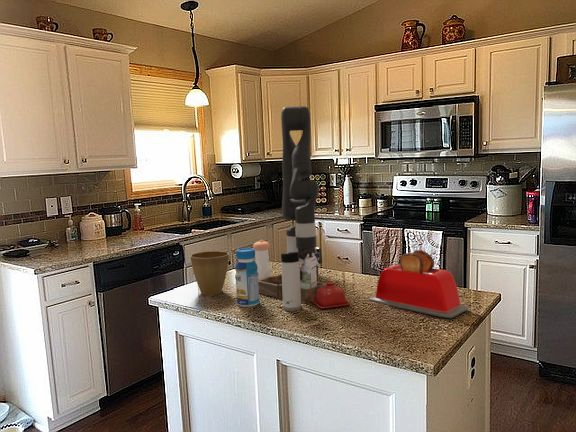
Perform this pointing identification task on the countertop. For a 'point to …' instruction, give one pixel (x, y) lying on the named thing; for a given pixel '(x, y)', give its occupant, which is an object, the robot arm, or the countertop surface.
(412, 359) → the countertop surface
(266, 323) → the countertop surface
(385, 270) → the toaster
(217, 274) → the plant pot
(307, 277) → the syrup box
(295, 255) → the travel mug
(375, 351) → the countertop surface
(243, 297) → the beverage bottle
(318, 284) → the wooden tray
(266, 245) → the salt shaker
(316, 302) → the butter dish
